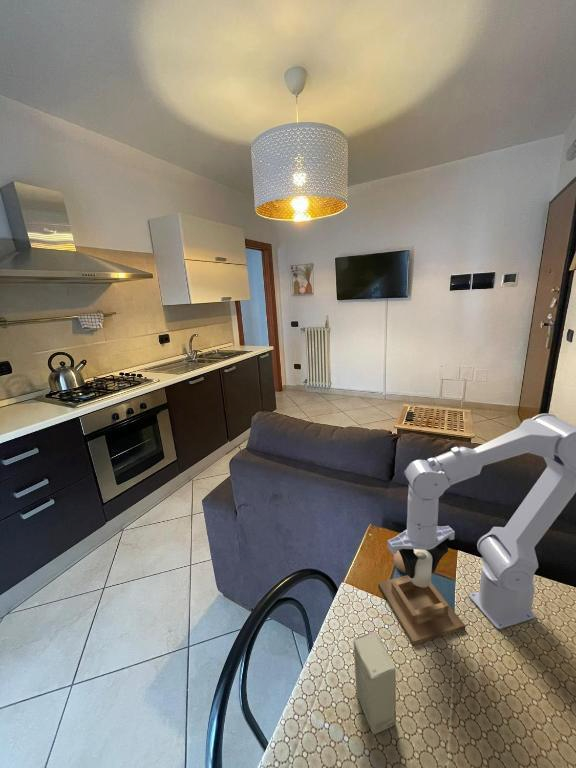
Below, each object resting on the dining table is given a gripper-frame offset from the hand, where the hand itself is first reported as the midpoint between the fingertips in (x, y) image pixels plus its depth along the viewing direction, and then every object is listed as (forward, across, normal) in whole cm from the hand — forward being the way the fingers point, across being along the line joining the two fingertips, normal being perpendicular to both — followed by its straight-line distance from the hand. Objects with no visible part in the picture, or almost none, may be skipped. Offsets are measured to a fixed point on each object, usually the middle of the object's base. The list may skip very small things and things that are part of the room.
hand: (419, 571), depth 67 cm
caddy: (+9, 0, 0) cm, 9 cm away
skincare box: (+10, +18, +14) cm, 25 cm away
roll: (+2, 0, 0) cm, 2 cm away
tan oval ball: (+10, -4, -11) cm, 15 cm away
